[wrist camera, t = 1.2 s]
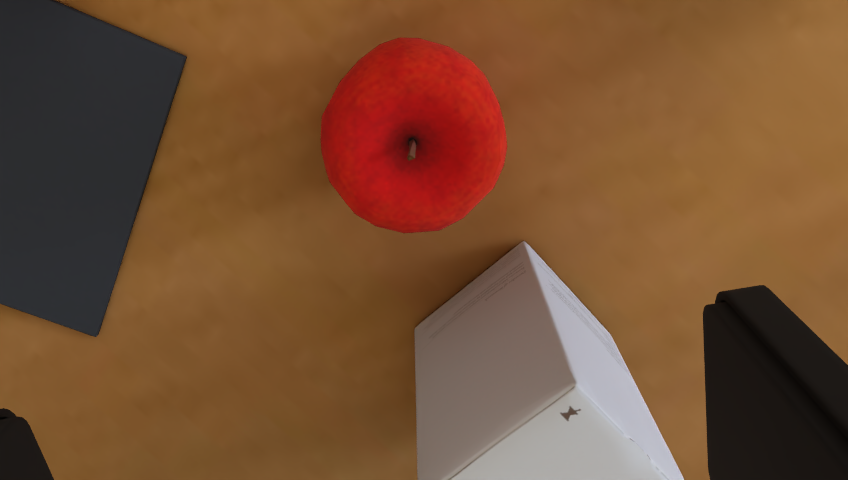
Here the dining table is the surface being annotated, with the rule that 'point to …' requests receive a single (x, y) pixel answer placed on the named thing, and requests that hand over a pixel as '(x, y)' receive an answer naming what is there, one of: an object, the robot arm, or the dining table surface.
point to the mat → (73, 154)
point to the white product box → (528, 386)
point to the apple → (413, 136)
